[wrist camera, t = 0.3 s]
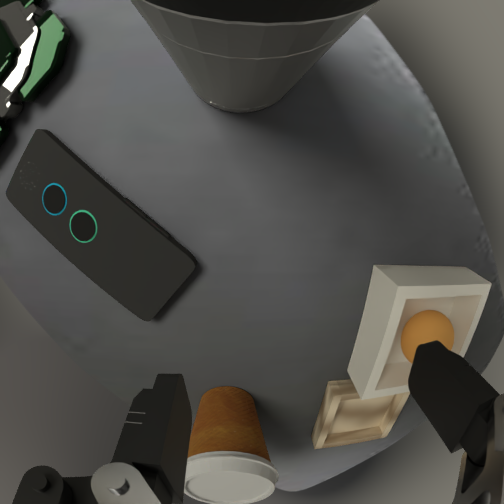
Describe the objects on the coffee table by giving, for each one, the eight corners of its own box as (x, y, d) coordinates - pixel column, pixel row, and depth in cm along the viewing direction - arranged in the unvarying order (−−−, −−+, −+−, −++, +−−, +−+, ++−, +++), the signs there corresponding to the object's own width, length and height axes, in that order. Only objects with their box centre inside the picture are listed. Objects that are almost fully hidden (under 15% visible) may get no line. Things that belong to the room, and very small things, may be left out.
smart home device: (38, 124, 20) (199, 263, 25) (47, 125, 21) (201, 256, 26) (2, 196, 21) (146, 325, 26) (12, 193, 23) (150, 316, 28)
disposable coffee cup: (278, 382, 31) (295, 471, 20) (255, 430, 34) (263, 508, 22) (192, 368, 30) (179, 461, 18) (182, 420, 32) (172, 499, 21)
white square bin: (373, 264, 27) (398, 286, 22) (464, 266, 28) (491, 283, 23) (347, 370, 31) (361, 399, 26) (433, 358, 32) (451, 381, 27)
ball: (399, 301, 27) (429, 332, 22) (441, 298, 28) (472, 325, 22) (385, 349, 29) (408, 383, 24) (426, 343, 30) (451, 373, 24)
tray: (328, 381, 31) (333, 395, 29) (406, 371, 32) (414, 383, 30) (311, 435, 35) (314, 449, 32) (380, 425, 36) (386, 436, 33)
